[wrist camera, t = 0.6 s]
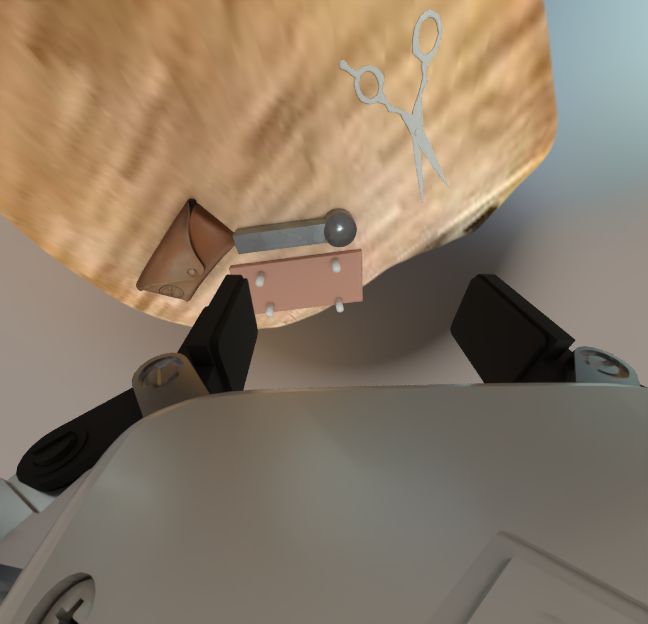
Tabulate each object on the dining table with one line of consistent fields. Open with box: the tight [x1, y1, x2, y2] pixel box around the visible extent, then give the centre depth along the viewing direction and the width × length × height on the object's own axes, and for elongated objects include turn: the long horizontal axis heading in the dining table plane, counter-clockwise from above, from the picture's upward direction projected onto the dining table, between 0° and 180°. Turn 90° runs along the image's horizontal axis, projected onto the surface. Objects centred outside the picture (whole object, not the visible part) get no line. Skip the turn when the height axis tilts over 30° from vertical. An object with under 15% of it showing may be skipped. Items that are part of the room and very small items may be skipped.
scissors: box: [339, 10, 449, 204], centre depth 31 cm, size 11×1×20 cm
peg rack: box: [229, 249, 362, 317], centre depth 42 cm, size 22×10×4 cm, turn 96°
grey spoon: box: [233, 209, 357, 254], centre depth 37 cm, size 18×5×3 cm, turn 96°
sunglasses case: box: [136, 199, 235, 302], centre depth 39 cm, size 18×7×7 cm, turn 136°
